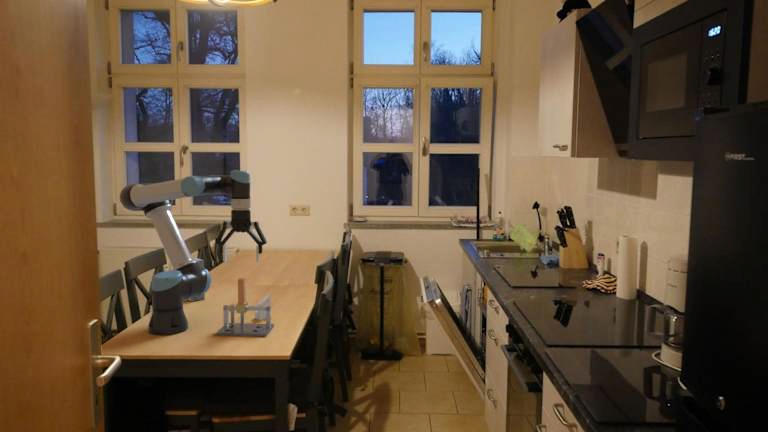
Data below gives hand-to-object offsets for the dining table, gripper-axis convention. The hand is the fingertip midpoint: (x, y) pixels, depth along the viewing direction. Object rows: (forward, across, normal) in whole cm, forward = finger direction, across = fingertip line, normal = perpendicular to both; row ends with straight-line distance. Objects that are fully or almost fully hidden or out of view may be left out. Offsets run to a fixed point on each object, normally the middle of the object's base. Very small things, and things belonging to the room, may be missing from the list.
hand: (241, 261), depth 221 cm
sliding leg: (+27, 0, 0) cm, 27 cm away
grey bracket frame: (+27, +2, 0) cm, 27 cm away
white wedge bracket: (+29, +4, +17) cm, 33 cm away
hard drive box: (+29, -41, +49) cm, 70 cm away
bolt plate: (+28, +2, -2) cm, 28 cm away
